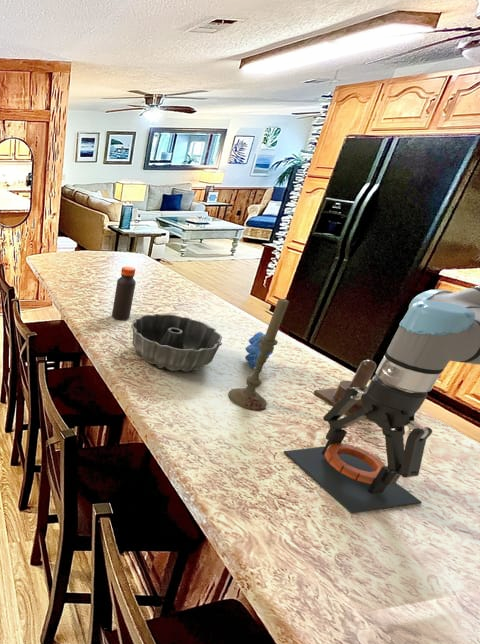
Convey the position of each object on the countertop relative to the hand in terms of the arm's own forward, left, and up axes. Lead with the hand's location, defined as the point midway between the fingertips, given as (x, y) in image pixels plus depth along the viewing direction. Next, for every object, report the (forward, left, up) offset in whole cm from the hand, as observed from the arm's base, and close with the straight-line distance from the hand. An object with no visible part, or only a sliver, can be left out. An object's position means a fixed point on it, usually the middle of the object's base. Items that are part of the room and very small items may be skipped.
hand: (350, 471), depth 81 cm
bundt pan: (+51, +11, -1) cm, 52 cm away
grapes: (+42, -13, -1) cm, 44 cm away
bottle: (+83, +13, -1) cm, 84 cm away
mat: (0, 0, -1) cm, 1 cm away
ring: (0, 0, +2) cm, 2 cm away
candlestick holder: (+27, +2, -1) cm, 27 cm away
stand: (+22, -25, -1) cm, 33 cm away
